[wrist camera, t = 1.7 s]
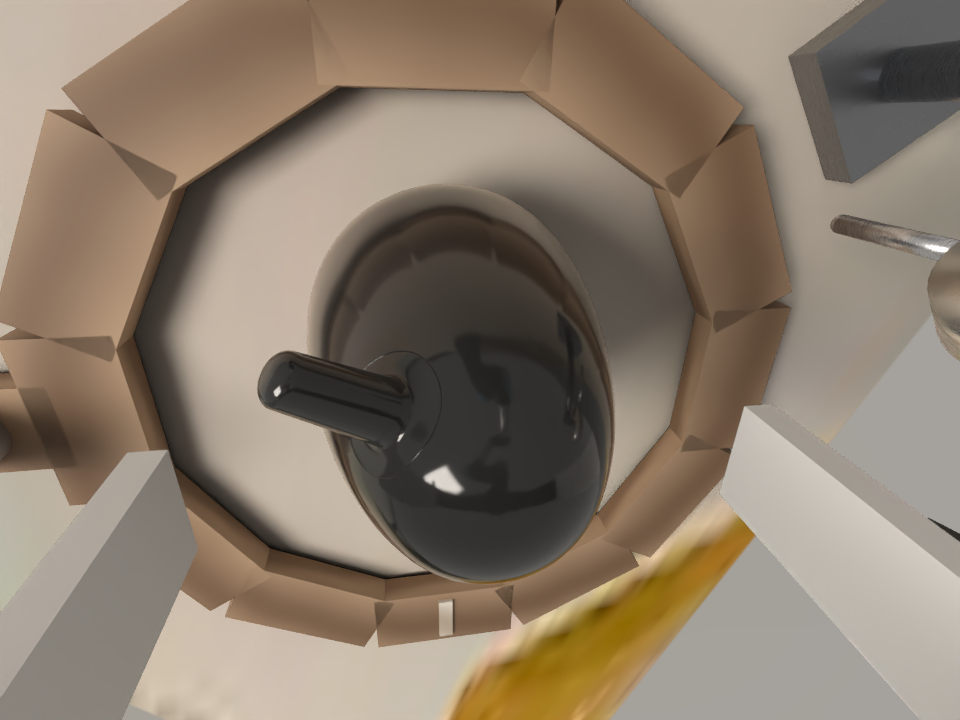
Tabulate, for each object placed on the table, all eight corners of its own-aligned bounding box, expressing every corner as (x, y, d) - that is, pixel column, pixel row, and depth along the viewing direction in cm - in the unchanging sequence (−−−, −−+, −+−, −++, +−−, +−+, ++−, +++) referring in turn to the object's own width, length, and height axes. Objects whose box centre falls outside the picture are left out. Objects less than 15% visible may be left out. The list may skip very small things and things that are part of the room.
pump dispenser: (412, 111, 19) (464, 108, 6) (590, 270, 24) (856, 479, 10) (273, 309, 22) (88, 620, 8) (455, 420, 26) (525, 748, 13)
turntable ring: (-341, -97, 14) (-1211, -346, 6) (860, -12, 20) (1150, -88, 12) (75, 664, 29) (-36, 858, 21) (685, 584, 35) (767, 714, 27)
